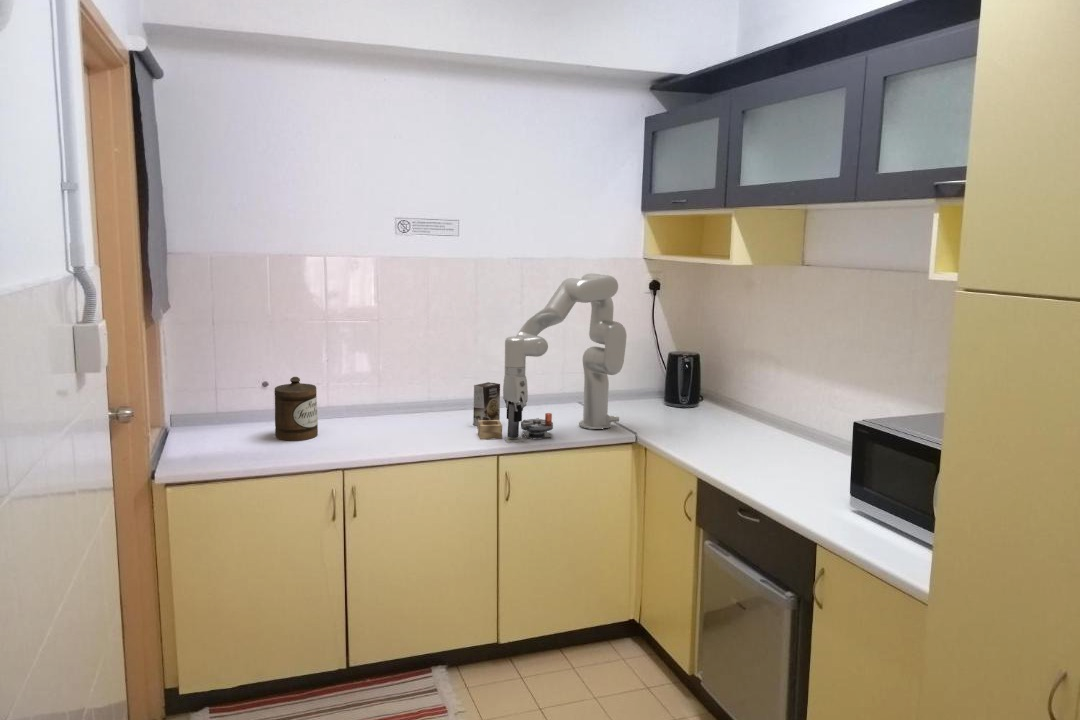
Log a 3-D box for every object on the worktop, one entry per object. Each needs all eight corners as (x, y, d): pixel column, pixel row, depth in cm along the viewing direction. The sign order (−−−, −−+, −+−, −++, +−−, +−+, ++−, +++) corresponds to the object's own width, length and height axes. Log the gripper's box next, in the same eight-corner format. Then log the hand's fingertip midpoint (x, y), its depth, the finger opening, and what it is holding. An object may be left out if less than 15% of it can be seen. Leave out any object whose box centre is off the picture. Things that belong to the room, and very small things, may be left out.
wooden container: (305, 442, 279) (303, 382, 275) (267, 439, 282) (265, 379, 278) (325, 432, 294) (323, 374, 290) (288, 429, 296) (286, 371, 293)
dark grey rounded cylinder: (516, 434, 290) (517, 403, 288) (519, 437, 287) (521, 405, 285) (505, 435, 289) (507, 403, 287) (509, 438, 285) (511, 405, 283)
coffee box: (485, 427, 304) (485, 387, 301) (472, 425, 308) (473, 384, 305) (500, 423, 311) (500, 383, 308) (488, 420, 315) (488, 381, 312)
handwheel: (514, 428, 292) (514, 412, 291) (531, 422, 302) (532, 406, 301) (542, 433, 286) (542, 417, 285) (559, 426, 296) (559, 411, 295)
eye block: (498, 432, 297) (499, 419, 297) (502, 438, 290) (502, 425, 289) (477, 433, 296) (478, 420, 295) (480, 439, 288) (480, 425, 287)
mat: (520, 437, 292) (520, 436, 291) (523, 441, 286) (523, 440, 286) (504, 438, 290) (504, 436, 290) (507, 442, 285) (507, 441, 285)
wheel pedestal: (545, 431, 300) (546, 425, 300) (550, 438, 291) (551, 431, 291) (522, 432, 298) (522, 426, 298) (527, 439, 290) (527, 432, 289)
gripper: (536, 373, 279) (535, 423, 282) (511, 366, 292) (510, 414, 296) (519, 375, 275) (518, 426, 278) (493, 368, 288) (493, 416, 291)
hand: (514, 419), depth 287 cm, fingers closed on dark grey rounded cylinder, 4 cm apart
